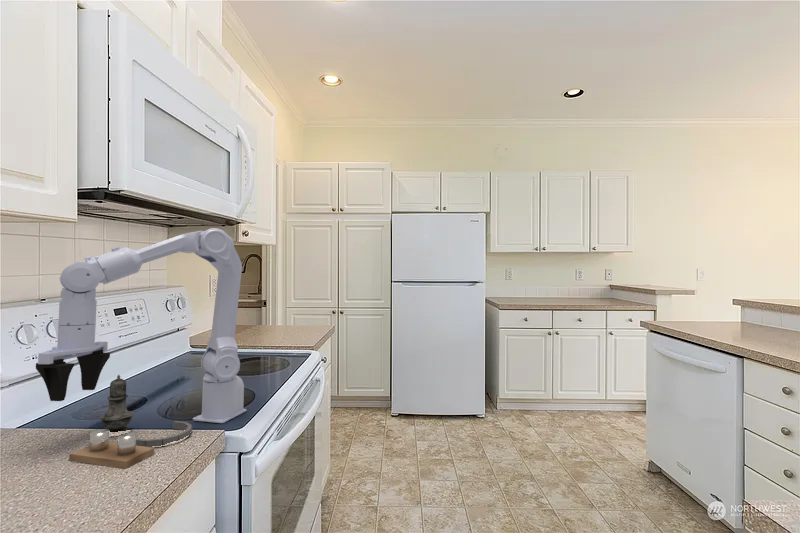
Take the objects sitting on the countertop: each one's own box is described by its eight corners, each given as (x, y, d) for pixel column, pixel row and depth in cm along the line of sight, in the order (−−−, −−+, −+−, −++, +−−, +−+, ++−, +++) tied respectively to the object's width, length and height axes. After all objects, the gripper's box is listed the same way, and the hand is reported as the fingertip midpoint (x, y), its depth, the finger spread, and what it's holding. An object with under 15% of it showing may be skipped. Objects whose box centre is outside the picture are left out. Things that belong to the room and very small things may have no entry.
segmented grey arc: (175, 427, 89) (175, 420, 89) (202, 430, 87) (202, 423, 87) (132, 447, 78) (132, 439, 78) (162, 451, 76) (163, 443, 76)
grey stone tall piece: (115, 439, 82) (118, 378, 82) (91, 436, 83) (94, 376, 83) (139, 429, 88) (142, 372, 88) (116, 426, 89) (119, 371, 89)
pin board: (100, 447, 78) (101, 425, 78) (154, 454, 75) (155, 431, 75) (68, 460, 72) (70, 436, 72) (125, 468, 69) (126, 443, 69)
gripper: (85, 320, 87) (82, 385, 86) (22, 327, 72) (18, 405, 72) (118, 321, 87) (115, 385, 86) (62, 328, 72) (58, 406, 72)
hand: (73, 394), depth 79 cm, fingers open, 7 cm apart
